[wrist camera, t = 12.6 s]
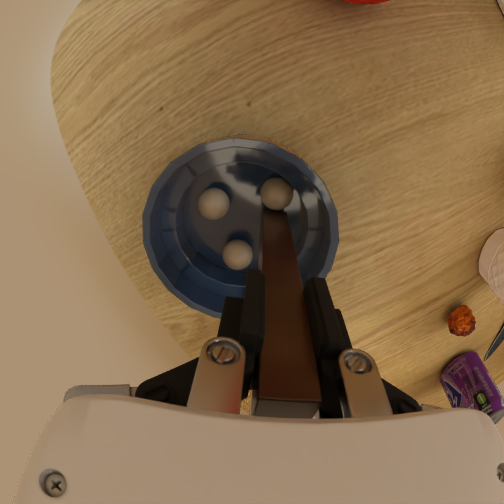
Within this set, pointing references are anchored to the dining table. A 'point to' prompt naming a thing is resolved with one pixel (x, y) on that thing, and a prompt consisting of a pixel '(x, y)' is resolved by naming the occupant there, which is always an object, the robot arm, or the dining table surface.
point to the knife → (495, 344)
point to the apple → (365, 1)
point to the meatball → (461, 321)
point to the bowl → (232, 218)
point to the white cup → (493, 263)
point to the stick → (284, 330)
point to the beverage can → (472, 386)
